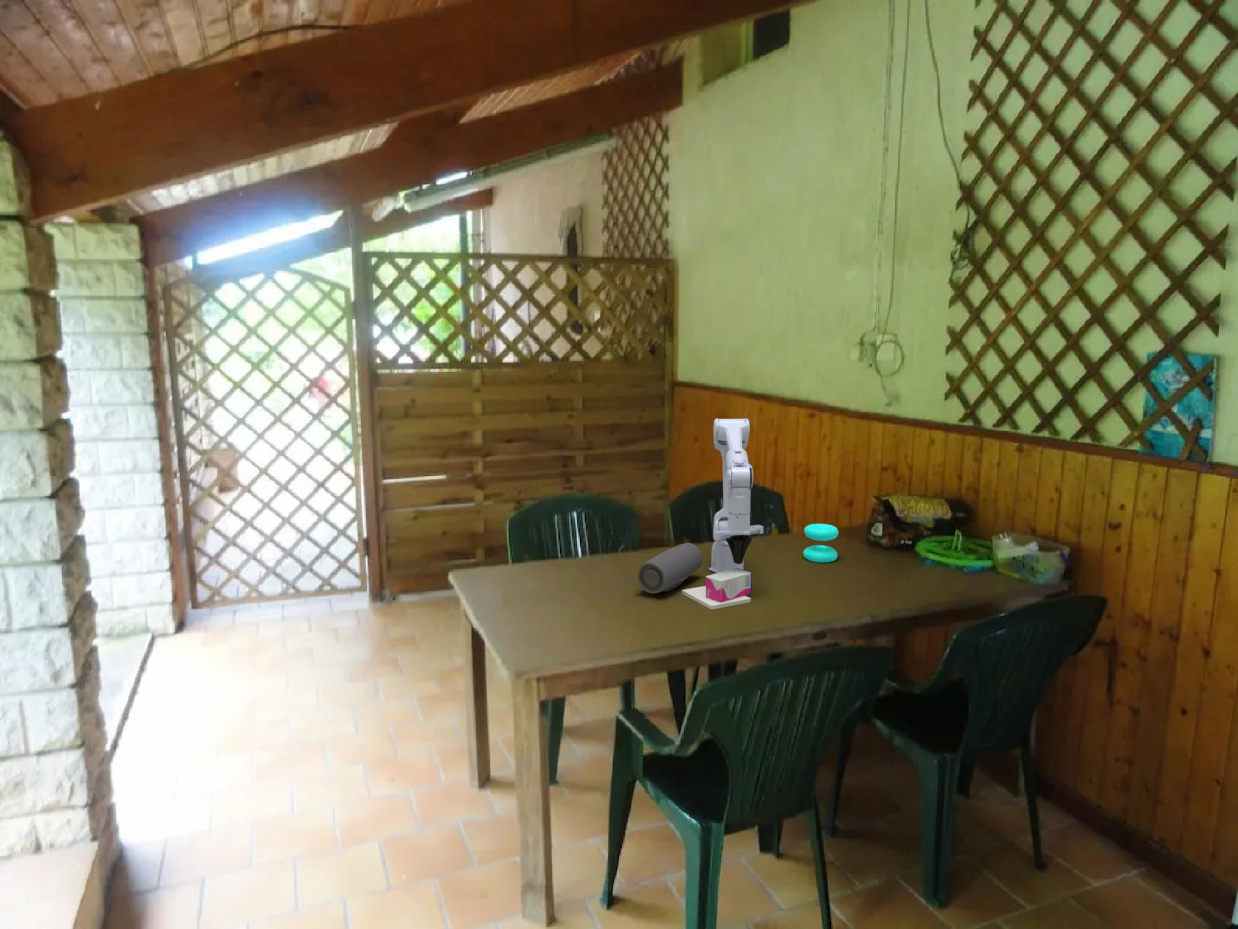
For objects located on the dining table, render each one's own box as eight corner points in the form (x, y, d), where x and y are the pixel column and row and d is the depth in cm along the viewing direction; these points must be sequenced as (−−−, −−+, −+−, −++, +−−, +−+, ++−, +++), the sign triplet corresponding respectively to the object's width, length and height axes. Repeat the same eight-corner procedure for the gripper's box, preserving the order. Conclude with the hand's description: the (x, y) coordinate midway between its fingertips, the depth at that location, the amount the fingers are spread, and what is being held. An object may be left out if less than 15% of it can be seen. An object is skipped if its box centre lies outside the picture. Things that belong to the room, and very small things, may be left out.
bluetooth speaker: (674, 572, 236) (674, 538, 234) (704, 577, 231) (704, 543, 229) (635, 595, 216) (634, 558, 215) (666, 601, 212) (666, 563, 210)
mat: (681, 593, 217) (681, 590, 217) (719, 586, 223) (719, 583, 222) (711, 609, 205) (711, 606, 205) (750, 602, 210) (750, 598, 210)
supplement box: (735, 567, 217) (705, 575, 210) (752, 572, 213) (722, 580, 206) (735, 588, 218) (704, 597, 211) (752, 593, 214) (721, 603, 207)
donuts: (845, 528, 244) (818, 532, 240) (844, 561, 246) (817, 565, 242) (824, 521, 253) (797, 524, 249) (822, 552, 255) (796, 556, 251)
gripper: (724, 518, 206) (723, 570, 209) (771, 512, 213) (769, 563, 215) (708, 513, 212) (708, 563, 215) (754, 507, 219) (753, 556, 221)
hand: (737, 563), depth 215 cm, fingers closed
